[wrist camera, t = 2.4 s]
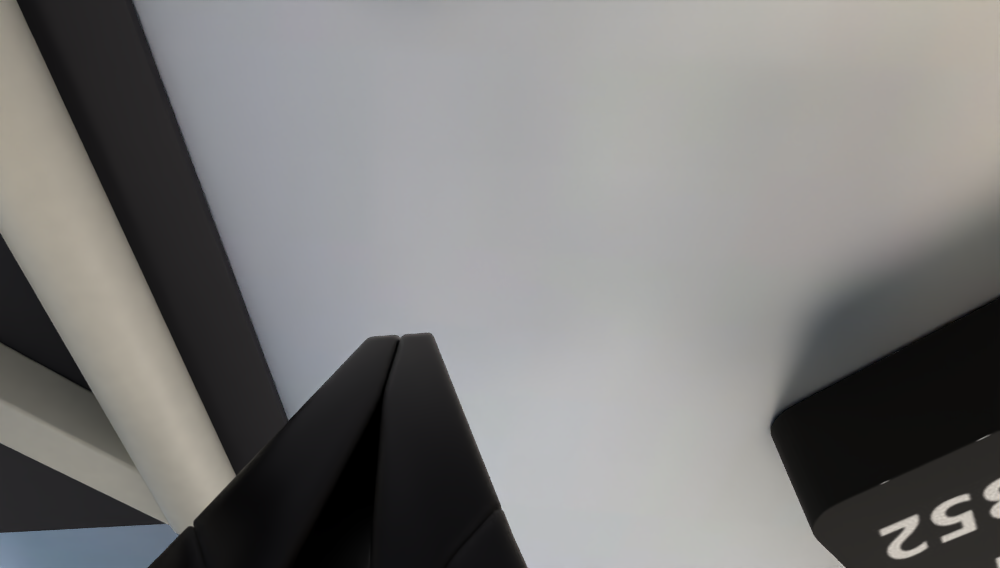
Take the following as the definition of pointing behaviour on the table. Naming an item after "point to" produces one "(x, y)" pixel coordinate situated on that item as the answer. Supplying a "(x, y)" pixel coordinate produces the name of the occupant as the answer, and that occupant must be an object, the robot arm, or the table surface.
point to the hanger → (91, 317)
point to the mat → (156, 246)
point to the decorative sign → (906, 454)
